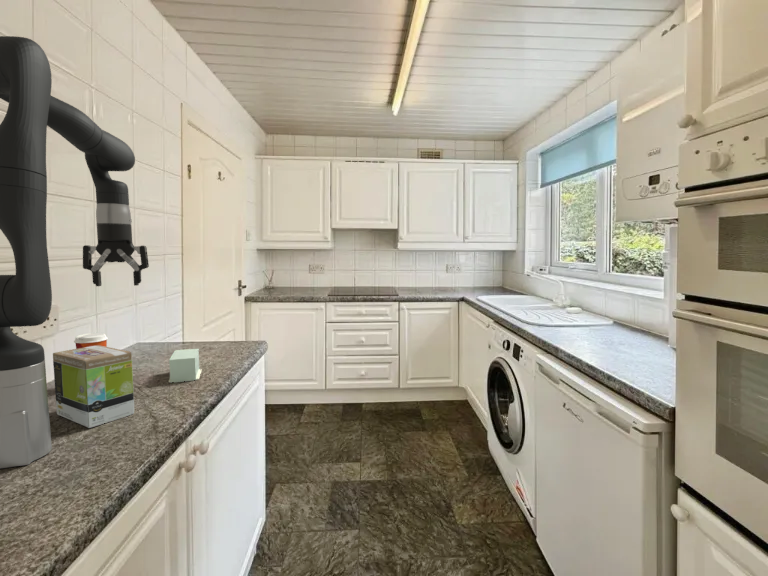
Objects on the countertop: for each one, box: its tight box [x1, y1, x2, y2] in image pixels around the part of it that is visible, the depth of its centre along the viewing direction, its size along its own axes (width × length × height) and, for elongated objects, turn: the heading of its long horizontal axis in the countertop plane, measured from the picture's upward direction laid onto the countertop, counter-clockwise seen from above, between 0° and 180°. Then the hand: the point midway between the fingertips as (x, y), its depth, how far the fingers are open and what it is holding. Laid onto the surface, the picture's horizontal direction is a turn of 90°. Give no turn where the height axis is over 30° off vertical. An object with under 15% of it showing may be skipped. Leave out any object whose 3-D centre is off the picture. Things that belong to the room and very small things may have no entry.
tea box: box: [52, 345, 135, 429], centre depth 95 cm, size 15×10×15 cm
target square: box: [168, 368, 203, 383], centre depth 125 cm, size 10×8×1 cm
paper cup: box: [73, 332, 109, 349], centre depth 116 cm, size 8×8×14 cm
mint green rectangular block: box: [168, 348, 200, 384], centre depth 125 cm, size 12×7×7 cm, turn 19°
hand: (117, 285), depth 109 cm, fingers open, 8 cm apart
